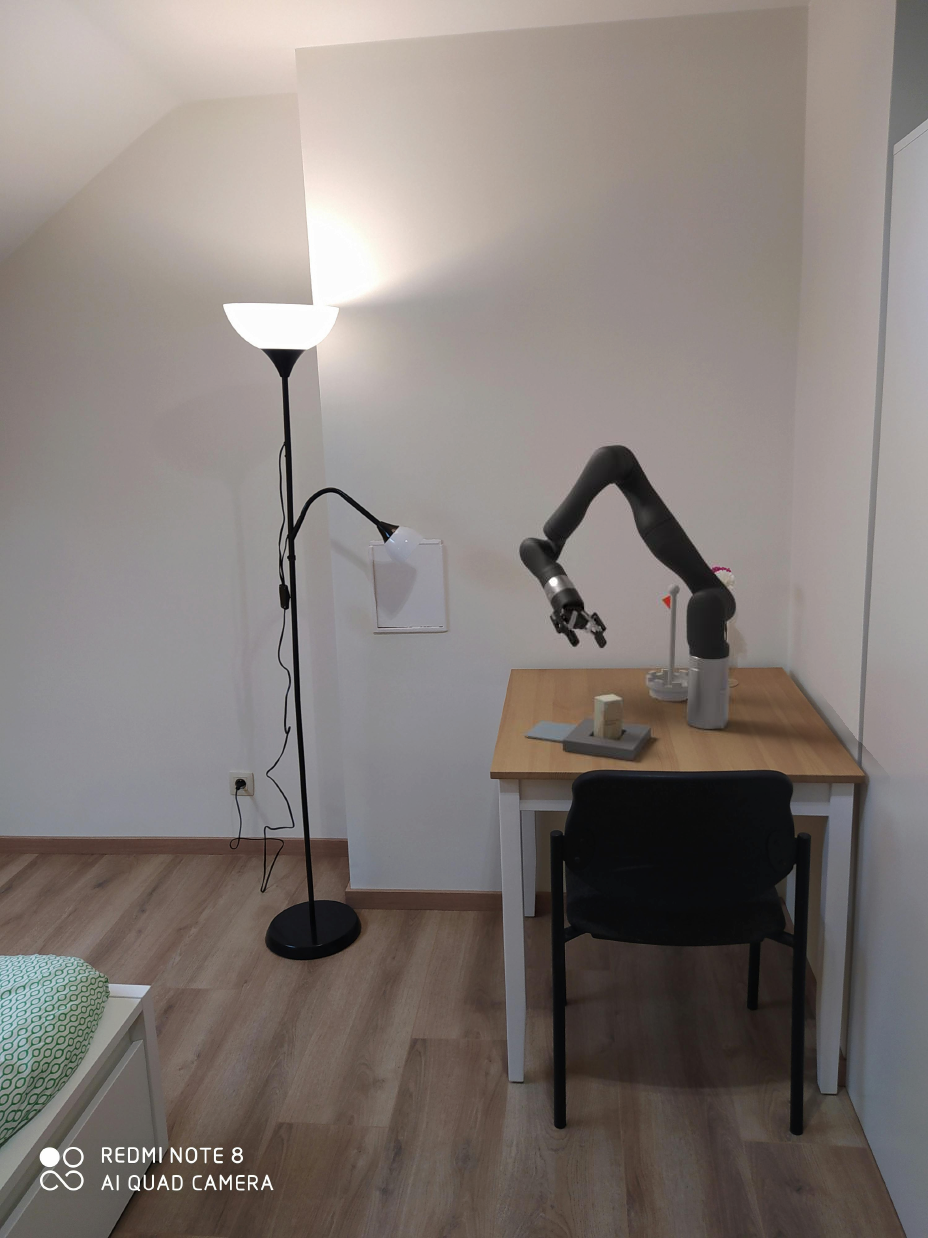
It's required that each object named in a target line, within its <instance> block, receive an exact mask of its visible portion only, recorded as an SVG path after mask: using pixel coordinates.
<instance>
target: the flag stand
mask: <svg viewBox="0 0 928 1238" xmlns="http://www.w3.org/2000/svg"><path fill="white" fill-rule="evenodd" d="M680 589H681V588H680V587H679V585H678V584H676V583H672V584H670V585H669V586H668V587H667V591H668V594H670V595H668V596H666V597H664V598H662V599H661V600H662V602H663V603H664V604H665V605H666V607H667V608H668V610H670V611H669V613H670V614H669V639H668V642H669V645H668V668H661V670H660V671H661V672H659V673H657V671H656V670H654V669H653V670H650V671H648V673H647V674H646V675H645V684H646V686H647V687H649V696H650V695H651V696H652V697H651V696H650V697H651V698H653V697H654V699H655V698H657V699H656V700H658V699H659V701H663V700H664V701H666V702H683V701H682V700H684V701H687V700H686V699H688V674H689V670H683V669H679V670H678V673H677V672H675V661H676V658H675V657H676V631H677V630H676V627H677V623H676V622H677V599H678V597H677V595H678V594H679V593H680Z"/></svg>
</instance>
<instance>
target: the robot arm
mask: <svg viewBox="0 0 928 1238" xmlns="http://www.w3.org/2000/svg"><path fill="white" fill-rule="evenodd" d="M613 484H615V486H616V487H617V488H618V489H619V490H620V492H621V493H622V495H623V496H624V497H625V499H626V500H627V502H628V504H629V506H630V508H631V512H632V515H633V519H634V523H635V526H636V530H637V533H638V534H639V536H640V538H641V539H642V541H643V542H644V544H645V545H646V547H647V548H648V550H649V552H651V554H652V555H653V556H654V557H655V558H656V559H657V560H658V561H659V562H660V563H661V564H663V565H664V566H665V567H667V569H669V570H670V571H672V572H673V573H674V574H675V575H677V576H678V577H679V579H681V580H682V581H683V583H684V584H685V585H686V587H687V588H688V589H689V591H690V593H691V594H692V595H691V596H690V597H689V600H688V603H687V607H686V616H685V617H686V642H687V645H688V650H689V651H688V654H689V655H688V671H689V672H688V700H686V701H687V702H686V704H687V705H686V723H687V724H688V725H689V726H691V727H693V728H698V729H703V730H716V729H719V730H720V729H721V730H724V729H725V728H726V726H727V724H728V722H729V708H730V706H729V704H730V686H731V685H730V684H729V668H730V652H731V651H730V650H731V648H730V644H729V642H727V640H726V639H725V638H726V637H725V635H726V634H725V625H726V624H725V623H727V622H729V621H730V620H731V619H732V618H733V617H734V615H735V614H736V610H737V603H736V599H735V596H734V594H733V593H732V592H731V590H730V589H729V587H727V585H726V584H725V583H724V582H723V581H722V580H721V579H720V577H718V575H717V574H716V573H715V572H714V571H713V570H712V568H711V567H710V566H709V565H708V563H707V562H706V561H705V559H704V558H703V556H702V555H701V553H700V552H699V551H698V549H697V548H696V546H695V544H694V543H693V542H692V541H691V539H690V537H689V536H688V535H687V533H686V531H685V529H684V528H683V527H682V526H681V524H680V523H679V520H677V518H676V517H675V516H674V514H673V513H672V511H671V510H670V509H669V508H668V506H667V504H665V502H664V500H663V499H662V498H661V496H660V495H659V494H658V492H657V491H656V490H655V488H654V487H653V485H652V484H651V482H650V480H649V479H648V477H647V475H646V473H645V472H644V470H643V468H642V466H641V464H640V462H639V460H638V459H637V457H636V455H635V454H634V452H633V451H632V450H631V449H629V447H626V446H625V445H620V444H615V445H613V444H612V445H604V446H602V447H599V448H597V449H596V450H594V452H593V453H592V455H591V456H590V457H589V459H588V461H587V463H586V464H585V466H584V468H583V470H582V472H581V474H580V475H579V477H578V479H577V480H576V482H575V483H574V485H573V486H572V488H571V490H570V491H569V493H568V494H567V495H566V497H565V498H564V500H562V502H561V503H560V505H559V506H558V507H557V508H556V509H555V511H554V512H553V513H552V514H551V516H550V517H549V518H548V519H547V521H546V522H545V524H544V526H543V528H542V532H543V535H544V536H545V537H546V538H547V539H541V538H538V537H527V538H525V539H523V540H522V542H521V543H520V545H519V549H518V551H519V553H518V554H519V558H520V560H521V562H522V563H523V565H524V566H525V568H527V569H528V571H530V572H531V574H532V575H533V576H534V577H535V578H536V579H537V580H538V582H539V583H540V585H541V588H542V589H543V590H544V591H543V592H544V593H545V596H546V598H547V600H548V603H549V604H550V606H551V609H553V611H552V613H551V614H550V615H549V619H550V621H551V623H552V625H553V627H554V630H555V631H556V633H557V634H559V635H561V634H563V635H564V636H565V637H566V638H567V640H568V642H569V644H570V645H571V647H573V648H576V647H578V645H579V644H580V639H579V637H578V635H577V634H576V631H575V630H580V631H583V632H584V633H586V634H590V635H591V636H592V637H593V638H594V640H595V642H596V643H597V645H598V648H600V649H604V648H605V646H606V645H607V643H608V642H607V638H606V637H605V636H604V633H605V632H607V626H606V625H605V624H604V622H603V620H602V619H601V616H600V615H599V614H598V613H597V612H596V611H595V612H593V613H592V614H589V613H588V612H587V611H586V610H585V601H584V600H583V598H582V596H581V595H580V593H579V591H578V590H577V588H576V587H575V585H574V583H573V581H572V580H571V579H570V578H569V576H568V574H567V572H566V571H565V569H564V568H563V566H562V564H561V563H559V562H557V561H559V558H560V556H561V554H562V552H563V549H564V547H565V545H566V542H567V541H568V539H569V538H570V537H571V536H572V535H573V533H574V532H575V531H576V530H577V529H578V528H579V526H580V525H581V523H582V522H583V520H584V518H585V516H586V514H587V511H588V509H589V508H590V505H591V503H592V502H593V501H594V499H595V498H596V497H597V496H598V495H599V494H600V493H601V492H602V491H604V489H606V488H607V487H608V486H609V485H613ZM588 624H589V626H588ZM587 626H588V627H587ZM593 629H594V630H595V631H594V630H593Z"/></svg>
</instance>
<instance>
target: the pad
mask: <svg viewBox="0 0 928 1238" xmlns="http://www.w3.org/2000/svg"><path fill="white" fill-rule="evenodd" d="M577 725H578V724H577ZM577 725H576V724H568V723H563V722H562V723H560V722H553V721H545V720H540V721H539V722H538V723H537V724H536V725H534V726H533V727H532V728H531V729H530V730H529V731H527V733H525V735H524V737H525V736H528V737H533V738H539V739H544V740H543V741H546V740H549V741H548V742H553V741H556V742H555V743H561V744H563V739H564V738H565V737H566V736H567V735H568V734H569V733H570V732H571V731H572V730H573V729H574V728H575V727H576V726H577ZM539 739H538V740H539Z"/></svg>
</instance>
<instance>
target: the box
mask: <svg viewBox="0 0 928 1238" xmlns="http://www.w3.org/2000/svg"><path fill="white" fill-rule="evenodd" d="M623 700H624V699H623V698H622V697H620V696H618V695H615V694H613V693H612V694H603V695H597V696H594V710H593V711H594V713H593V719H594V737H599V738H606V739H613V740H619V739H620V738H621V733H622V723H623V705H624V704H623Z"/></svg>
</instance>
